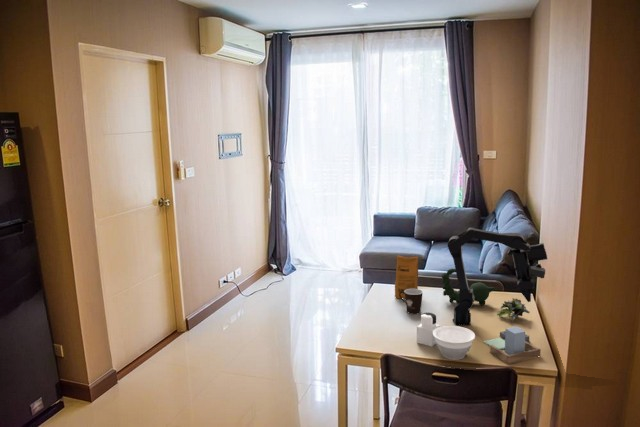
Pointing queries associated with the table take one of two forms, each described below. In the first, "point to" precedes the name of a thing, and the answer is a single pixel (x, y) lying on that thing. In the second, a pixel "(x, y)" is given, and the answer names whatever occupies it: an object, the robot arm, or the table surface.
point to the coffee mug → (413, 300)
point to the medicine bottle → (427, 329)
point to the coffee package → (406, 275)
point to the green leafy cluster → (513, 308)
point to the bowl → (453, 341)
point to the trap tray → (502, 335)
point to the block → (514, 340)
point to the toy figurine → (478, 288)
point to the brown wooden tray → (513, 358)
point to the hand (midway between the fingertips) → (528, 298)
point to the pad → (496, 343)
